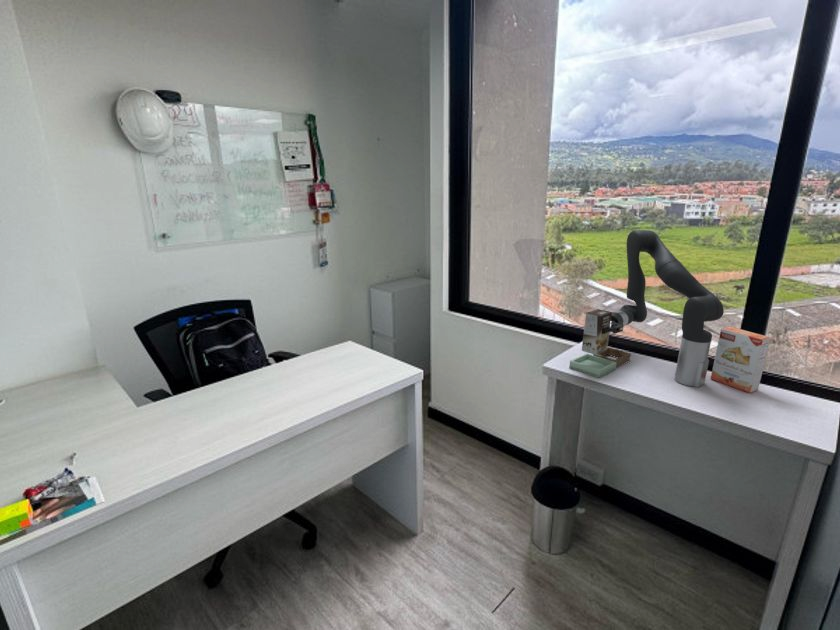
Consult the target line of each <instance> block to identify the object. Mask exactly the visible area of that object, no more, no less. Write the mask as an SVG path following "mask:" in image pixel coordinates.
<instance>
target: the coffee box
mask: <svg viewBox="0 0 840 630" xmlns="http://www.w3.org/2000/svg"><path fill="white" fill-rule="evenodd" d="M612 312H613V311H610V310H605V309H599V308H596V309H594V310H590V311H588V312H587V311H586V312H585V318H584V328H583V335H582V336H583V337H582V345H581V351H582V352H584V353H587V354H590V355H593V354H594V355H596V354H599V353H601V352H603V351H605V350H607V347H609V339H610V333H605V334H602V333H601V332H602V328H605V327H608V326H609V325H610V324H611V317H612Z"/></svg>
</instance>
